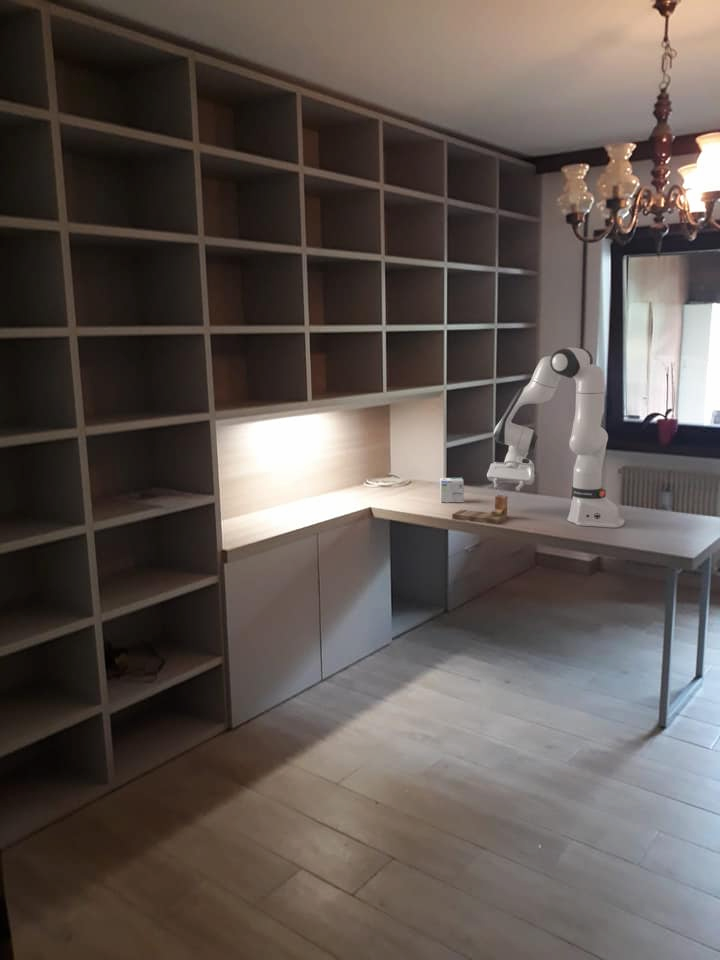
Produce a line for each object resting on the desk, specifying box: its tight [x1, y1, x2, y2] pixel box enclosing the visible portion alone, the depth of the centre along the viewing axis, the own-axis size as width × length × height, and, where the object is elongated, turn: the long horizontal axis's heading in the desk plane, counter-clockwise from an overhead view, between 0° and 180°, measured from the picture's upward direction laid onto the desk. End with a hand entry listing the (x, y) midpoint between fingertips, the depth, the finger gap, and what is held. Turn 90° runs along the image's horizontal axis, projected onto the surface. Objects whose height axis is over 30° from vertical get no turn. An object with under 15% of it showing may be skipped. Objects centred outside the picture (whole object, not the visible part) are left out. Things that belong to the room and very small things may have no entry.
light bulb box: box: [439, 477, 465, 504], centre depth 358 cm, size 11×7×11 cm, turn 89°
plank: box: [451, 509, 507, 525], centre depth 326 cm, size 20×10×2 cm, turn 61°
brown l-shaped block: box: [490, 494, 508, 516], centre depth 326 cm, size 4×10×9 cm, turn 151°
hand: (506, 489), depth 333 cm, fingers open, 8 cm apart
